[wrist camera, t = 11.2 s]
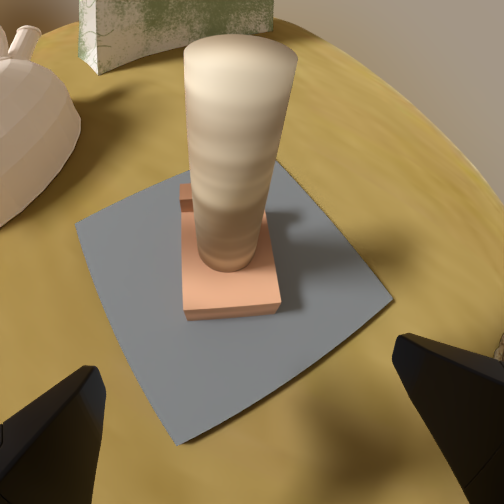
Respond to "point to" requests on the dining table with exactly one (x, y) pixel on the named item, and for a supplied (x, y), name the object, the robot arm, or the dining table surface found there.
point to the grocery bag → (160, 26)
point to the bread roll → (500, 350)
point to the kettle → (31, 124)
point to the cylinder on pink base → (231, 173)
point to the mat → (228, 329)
